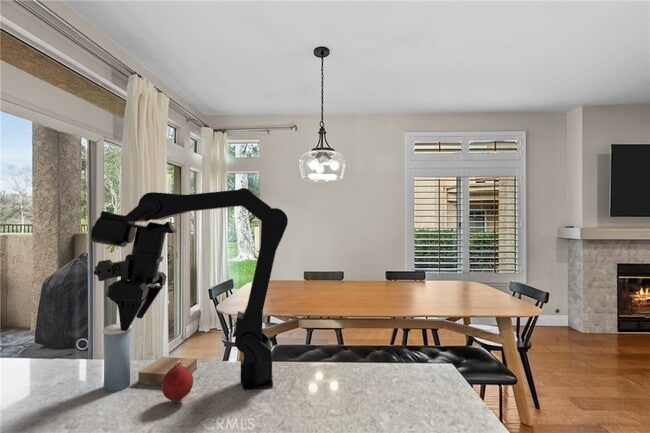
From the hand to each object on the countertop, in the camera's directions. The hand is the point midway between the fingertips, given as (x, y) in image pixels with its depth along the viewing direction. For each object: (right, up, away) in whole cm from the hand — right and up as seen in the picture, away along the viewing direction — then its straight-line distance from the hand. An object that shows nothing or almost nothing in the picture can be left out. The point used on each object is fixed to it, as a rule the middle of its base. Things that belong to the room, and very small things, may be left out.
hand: (132, 324), depth 73 cm
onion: (+11, -15, -4) cm, 19 cm away
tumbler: (-5, -15, +3) cm, 16 cm away
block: (+4, -15, +8) cm, 17 cm away
